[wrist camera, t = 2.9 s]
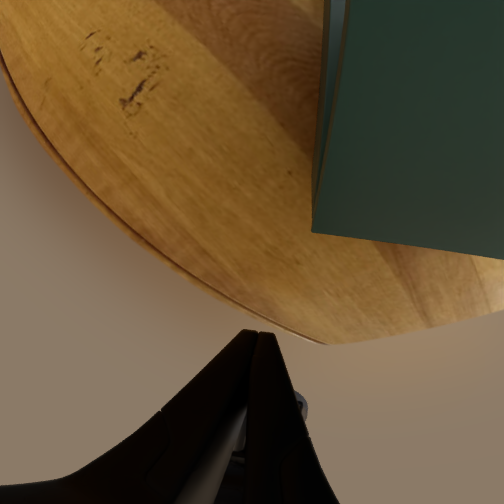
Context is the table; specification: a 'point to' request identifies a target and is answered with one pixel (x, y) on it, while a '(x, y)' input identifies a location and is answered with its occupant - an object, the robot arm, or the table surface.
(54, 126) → the table surface
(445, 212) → the lid
